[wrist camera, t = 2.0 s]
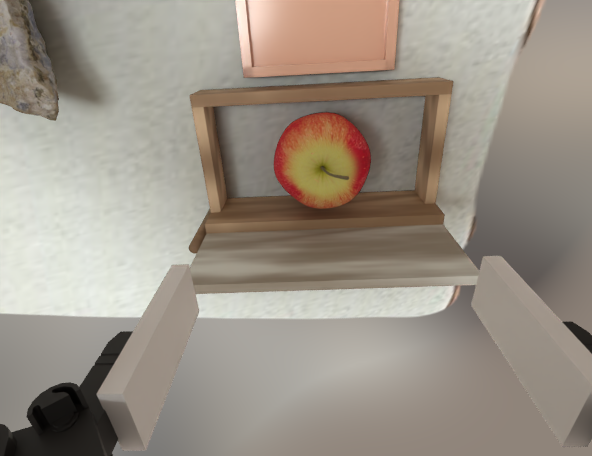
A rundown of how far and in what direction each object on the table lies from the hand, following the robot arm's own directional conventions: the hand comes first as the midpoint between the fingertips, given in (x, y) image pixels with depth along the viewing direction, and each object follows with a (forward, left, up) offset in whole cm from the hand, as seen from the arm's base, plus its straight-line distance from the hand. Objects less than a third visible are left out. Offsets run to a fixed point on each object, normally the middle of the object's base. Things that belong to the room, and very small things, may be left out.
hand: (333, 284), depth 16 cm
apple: (0, 0, -22) cm, 22 cm away
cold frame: (0, 0, -22) cm, 22 cm away
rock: (-10, -20, -19) cm, 29 cm away
